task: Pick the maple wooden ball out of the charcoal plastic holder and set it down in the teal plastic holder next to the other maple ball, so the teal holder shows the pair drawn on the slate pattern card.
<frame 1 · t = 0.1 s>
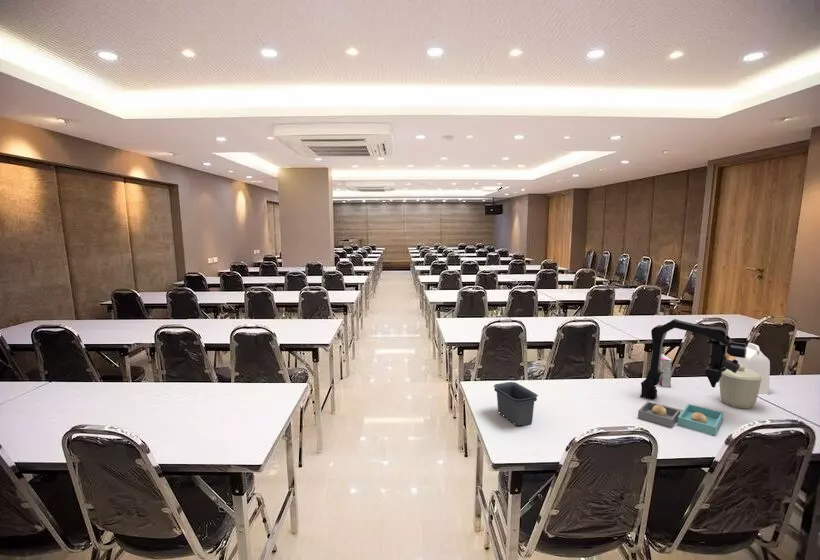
hand: (715, 384, 193), 15 cm above the table, tool pointing down, fingers open, 9 cm apart
milk: (749, 389, 224), on the table
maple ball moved: (659, 411, 191), point 3 cm above the table, touching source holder
storage bin: (516, 418, 194), on the table
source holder: (658, 418, 191), on the table
canister: (737, 404, 205), on the table
pattern card: (671, 410, 199), on the table
candy bar box: (661, 384, 233), on the table
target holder: (700, 422, 186), on the table
maple ball resting: (698, 419, 182), point 3 cm above the table, touching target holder
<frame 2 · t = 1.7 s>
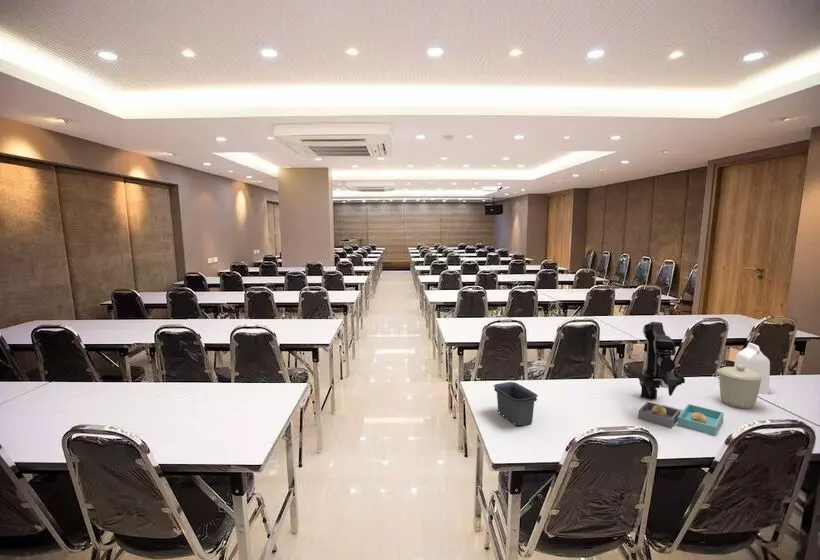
hand: (660, 395, 190), 11 cm above the table, tool pointing down, fingers open, 9 cm apart
nothing on the table moved.
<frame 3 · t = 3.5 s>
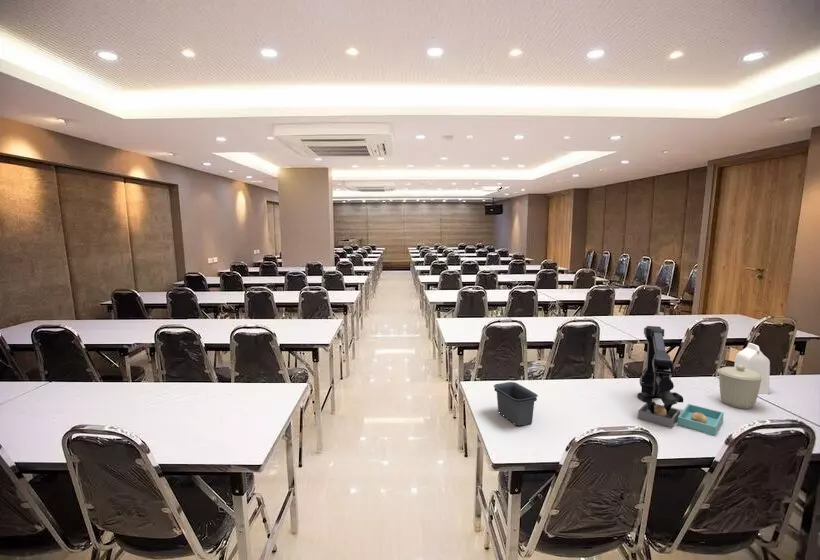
hand: (659, 414, 191), 2 cm above the table, tool pointing down, fingers closed on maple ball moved, 6 cm apart
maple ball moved: (659, 411, 191), point 3 cm above the table, touching gripper, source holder
everything else where it was.
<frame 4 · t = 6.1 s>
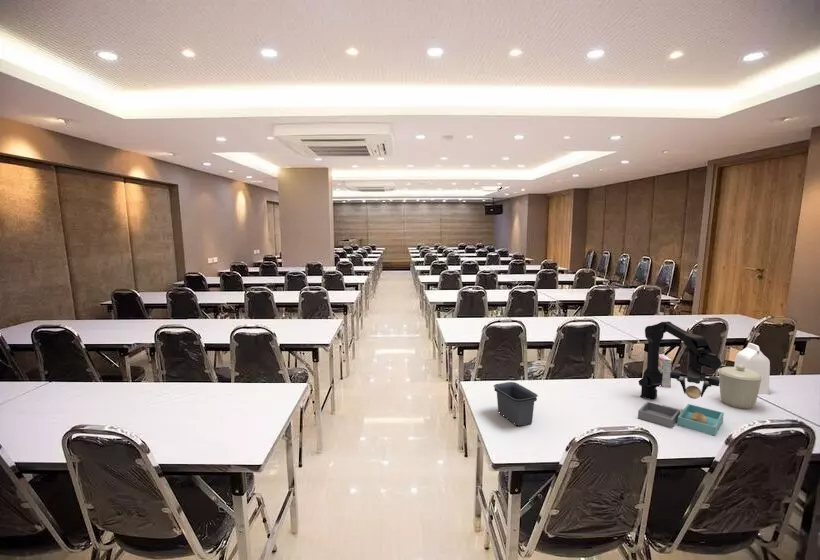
hand: (693, 395, 188), 12 cm above the table, tool pointing down, fingers closed on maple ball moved, 6 cm apart
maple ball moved: (693, 392, 188), point 14 cm above the table, touching gripper
everything else where it was.
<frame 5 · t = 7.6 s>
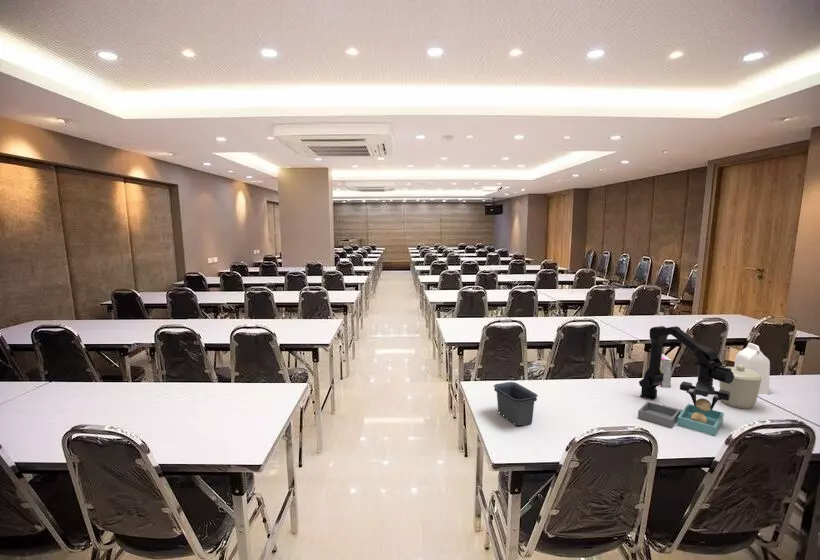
hand: (703, 407, 188), 6 cm above the table, tool pointing down, fingers closed on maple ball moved, 6 cm apart
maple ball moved: (703, 404, 188), point 7 cm above the table, touching gripper
everything else where it was.
when the fingers open (4 cm above the table, at t = 8.8 s): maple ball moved drops 3 cm, resting on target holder.
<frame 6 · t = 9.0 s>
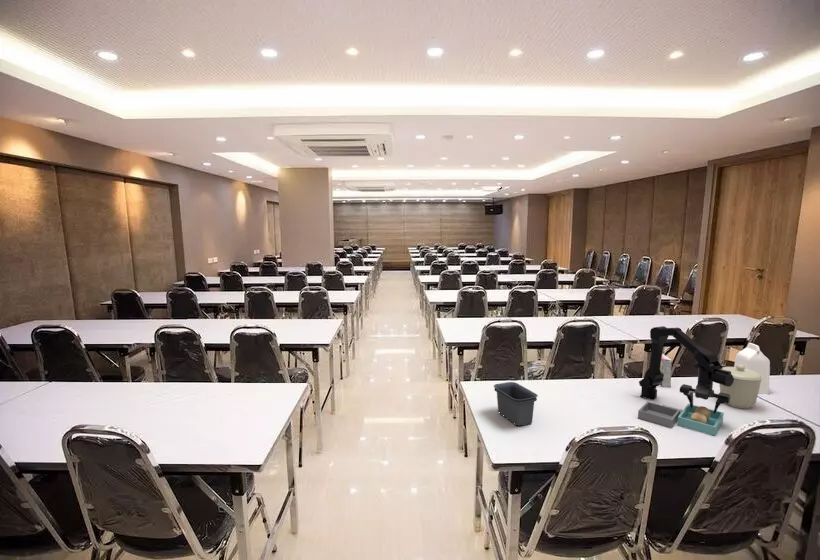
hand: (703, 410, 188), 4 cm above the table, tool pointing down, fingers open, 8 cm apart
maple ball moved: (702, 412, 189), point 3 cm above the table, touching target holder
everything else where it was.
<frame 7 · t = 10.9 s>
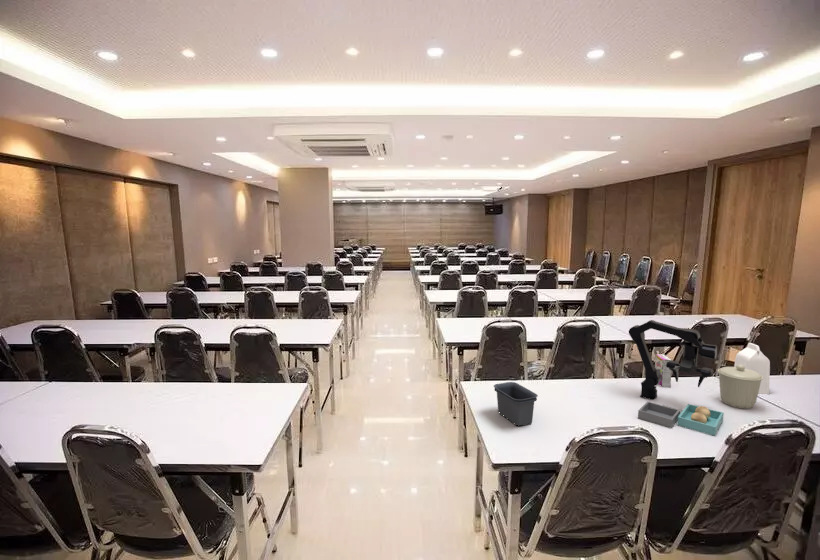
hand: (687, 384, 202), 12 cm above the table, tool pointing down, fingers open, 9 cm apart
nothing on the table moved.
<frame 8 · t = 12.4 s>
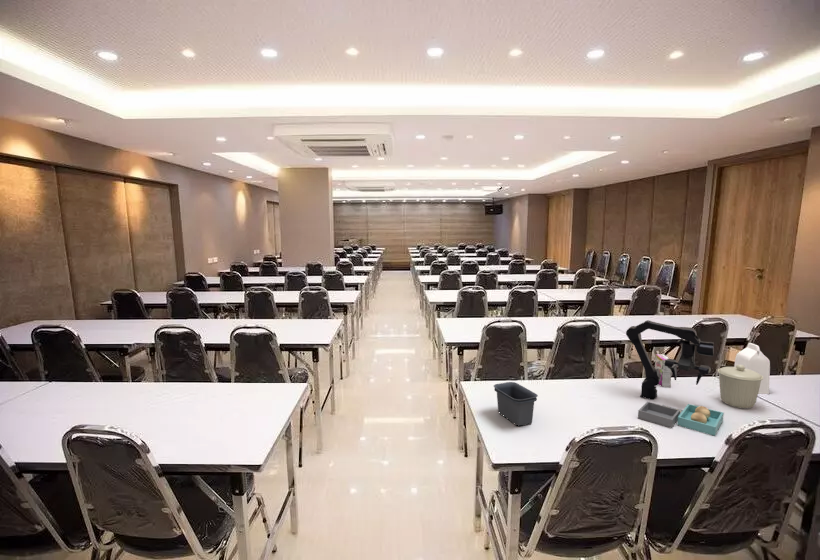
hand: (686, 382, 204), 12 cm above the table, tool pointing down, fingers open, 9 cm apart
nothing on the table moved.
at the end: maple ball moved inside the target area on the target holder (4.4 cm from its centre), point 3.4 cm above the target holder's base; maple ball resting inside the target area on the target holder (4.5 cm from its centre), point 3.4 cm above the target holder's base; the gripper is holding nothing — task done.
